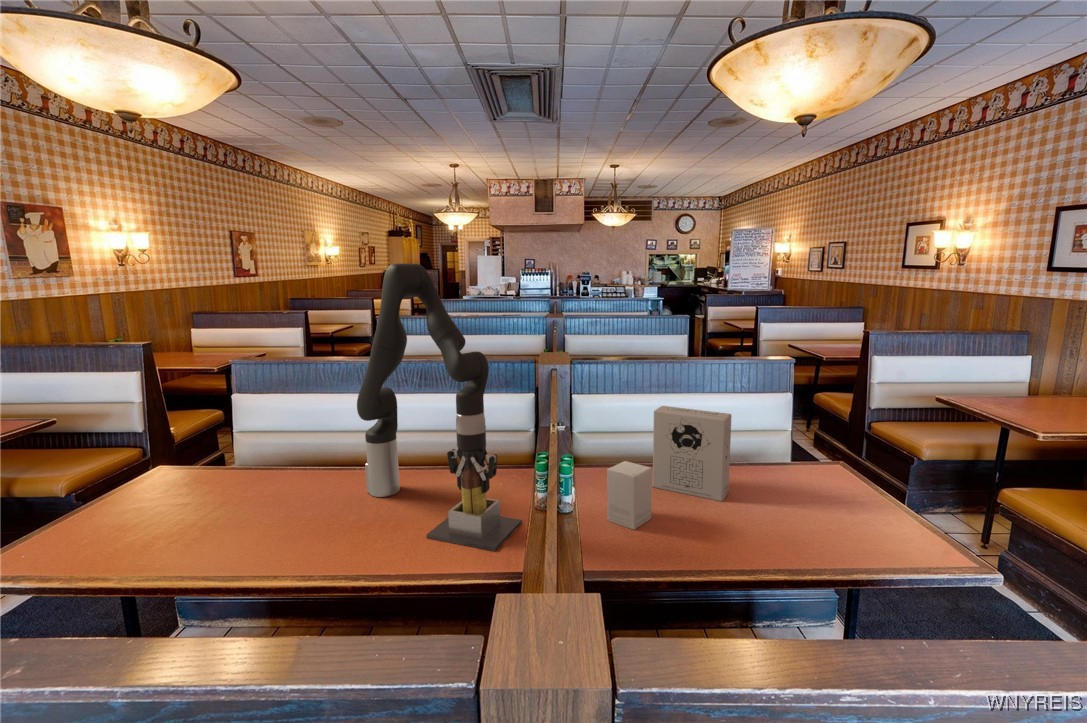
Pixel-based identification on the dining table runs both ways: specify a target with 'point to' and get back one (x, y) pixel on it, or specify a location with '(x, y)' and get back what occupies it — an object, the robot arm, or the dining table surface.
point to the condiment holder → (476, 527)
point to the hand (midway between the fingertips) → (473, 490)
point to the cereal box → (692, 452)
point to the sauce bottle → (472, 487)
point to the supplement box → (629, 494)
